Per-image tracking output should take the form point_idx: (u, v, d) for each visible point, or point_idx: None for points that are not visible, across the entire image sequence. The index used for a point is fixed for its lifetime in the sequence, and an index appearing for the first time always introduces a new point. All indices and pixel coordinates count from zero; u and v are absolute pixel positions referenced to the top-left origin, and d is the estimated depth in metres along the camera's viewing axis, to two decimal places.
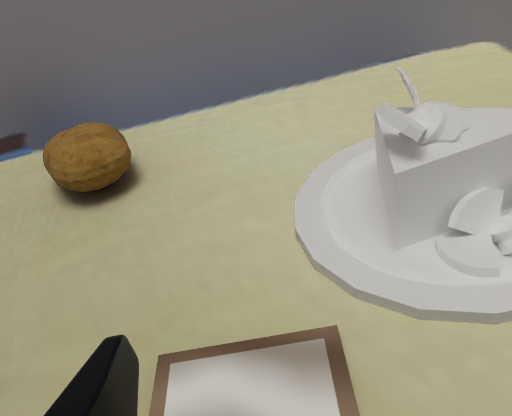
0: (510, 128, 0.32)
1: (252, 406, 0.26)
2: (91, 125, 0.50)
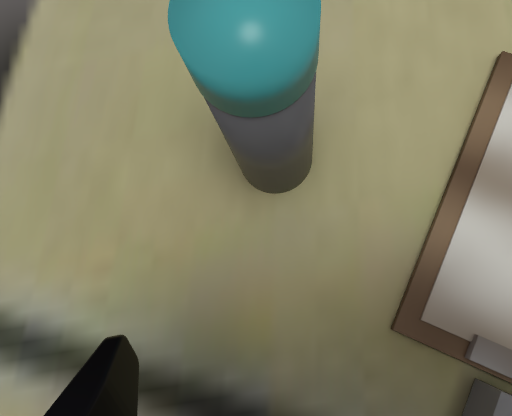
0: None
1: None
2: None
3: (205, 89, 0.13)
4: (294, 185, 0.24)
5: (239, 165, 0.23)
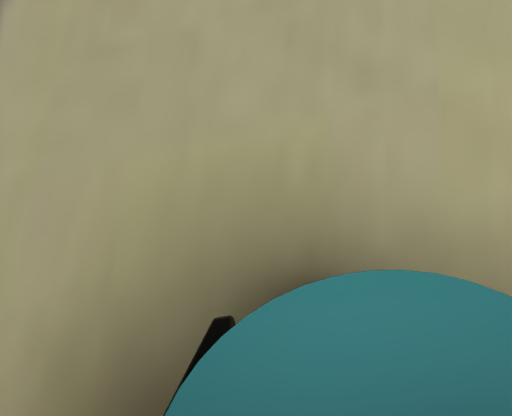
0: None
1: None
2: None
3: None
4: None
5: None
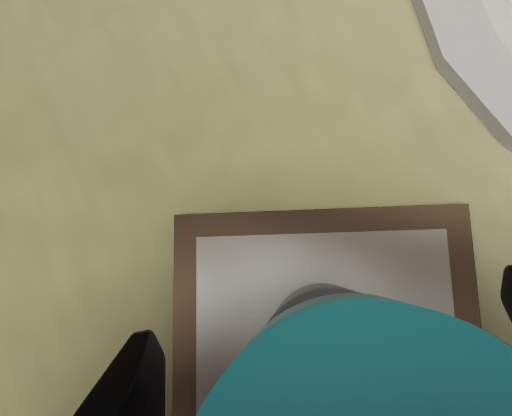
0: None
1: None
2: None
3: None
4: None
5: None
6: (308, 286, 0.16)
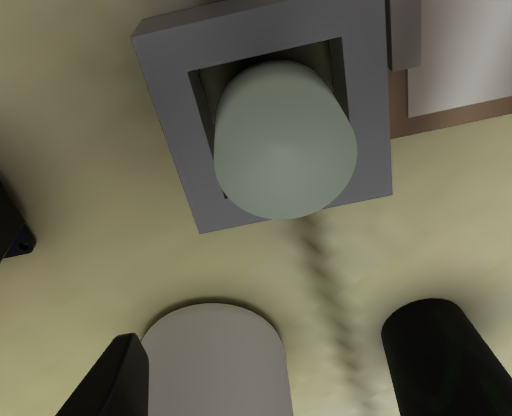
0: None
1: None
2: None
3: None
4: None
5: None
6: None
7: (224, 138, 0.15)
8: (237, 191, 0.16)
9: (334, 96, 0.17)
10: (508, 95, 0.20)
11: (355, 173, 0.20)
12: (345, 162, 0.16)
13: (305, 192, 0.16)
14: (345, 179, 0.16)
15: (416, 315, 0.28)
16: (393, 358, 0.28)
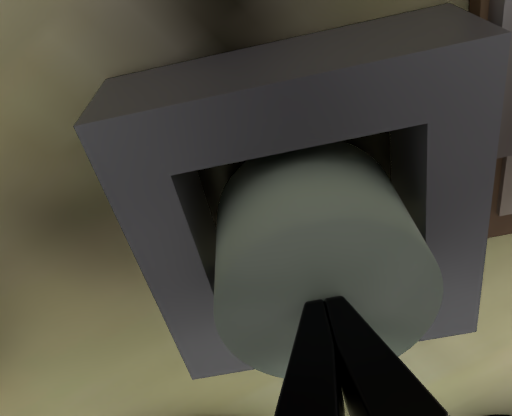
0: None
1: None
2: None
3: None
4: None
5: None
6: None
7: (230, 283, 0.09)
8: (250, 348, 0.10)
9: None
10: None
11: None
12: (421, 311, 0.10)
13: None
14: (418, 332, 0.10)
15: None
16: None
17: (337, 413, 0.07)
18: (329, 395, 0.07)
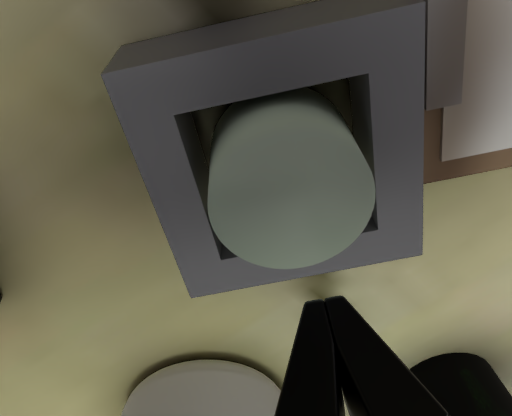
0: None
1: None
2: None
3: None
4: None
5: None
6: None
7: (219, 181, 0.13)
8: (235, 238, 0.14)
9: None
10: None
11: (378, 231, 0.16)
12: (361, 207, 0.14)
13: (314, 239, 0.14)
14: (360, 225, 0.14)
15: (439, 374, 0.24)
16: None
17: (337, 413, 0.07)
18: (329, 395, 0.07)
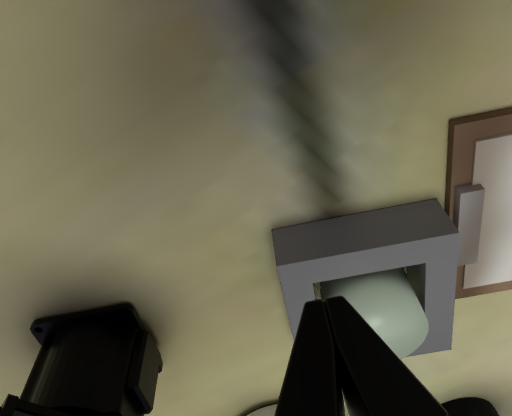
0: None
1: None
2: None
3: None
4: None
5: None
6: None
7: None
8: None
9: (409, 282, 0.24)
10: None
11: None
12: (419, 335, 0.23)
13: None
14: (418, 344, 0.24)
15: (457, 413, 0.34)
16: None
17: (337, 413, 0.07)
18: (329, 395, 0.07)
